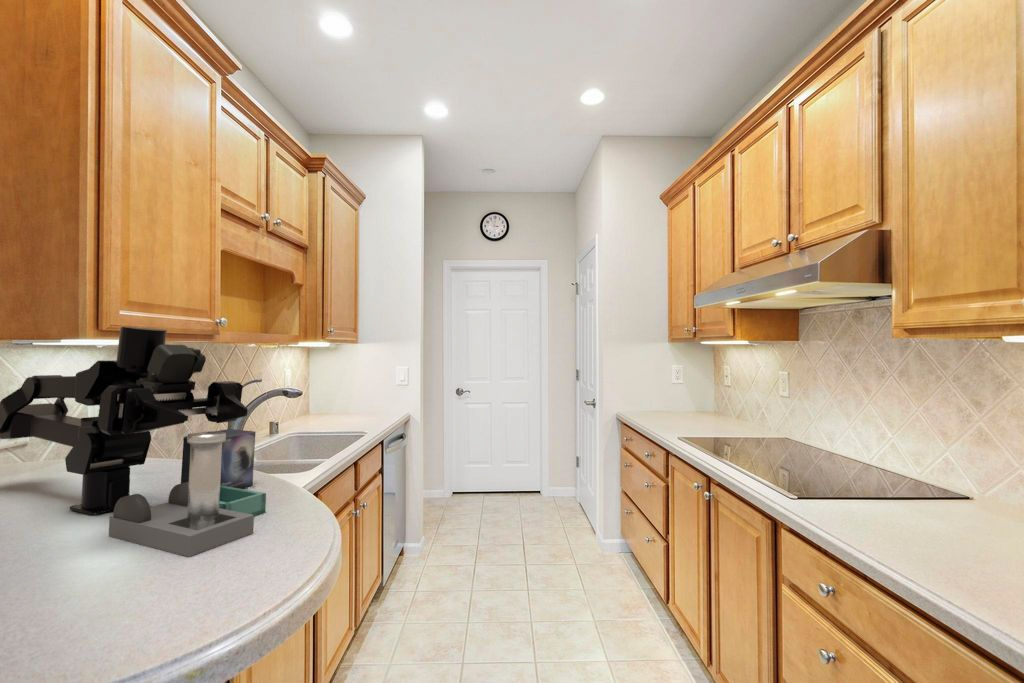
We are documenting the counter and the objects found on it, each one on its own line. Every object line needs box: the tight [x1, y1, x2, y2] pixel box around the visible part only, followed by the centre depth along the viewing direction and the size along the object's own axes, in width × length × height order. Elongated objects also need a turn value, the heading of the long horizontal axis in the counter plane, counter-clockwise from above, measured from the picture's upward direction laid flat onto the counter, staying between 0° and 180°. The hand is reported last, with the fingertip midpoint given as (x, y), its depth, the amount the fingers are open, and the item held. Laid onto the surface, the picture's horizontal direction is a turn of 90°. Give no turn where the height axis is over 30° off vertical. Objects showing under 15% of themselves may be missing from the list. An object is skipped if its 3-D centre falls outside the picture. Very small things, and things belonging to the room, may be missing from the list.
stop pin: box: [186, 430, 226, 530], centre depth 65 cm, size 4×4×14 cm
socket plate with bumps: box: [108, 482, 255, 558], centre depth 67 cm, size 16×9×6 cm, turn 68°
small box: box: [180, 428, 257, 489], centre depth 88 cm, size 11×6×10 cm, turn 168°
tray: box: [219, 486, 267, 517], centre depth 76 cm, size 10×7×3 cm
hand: (217, 415), depth 68 cm, fingers open, 9 cm apart
